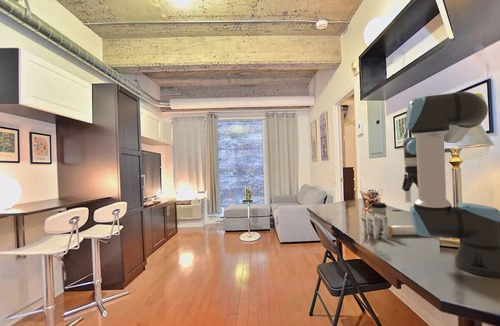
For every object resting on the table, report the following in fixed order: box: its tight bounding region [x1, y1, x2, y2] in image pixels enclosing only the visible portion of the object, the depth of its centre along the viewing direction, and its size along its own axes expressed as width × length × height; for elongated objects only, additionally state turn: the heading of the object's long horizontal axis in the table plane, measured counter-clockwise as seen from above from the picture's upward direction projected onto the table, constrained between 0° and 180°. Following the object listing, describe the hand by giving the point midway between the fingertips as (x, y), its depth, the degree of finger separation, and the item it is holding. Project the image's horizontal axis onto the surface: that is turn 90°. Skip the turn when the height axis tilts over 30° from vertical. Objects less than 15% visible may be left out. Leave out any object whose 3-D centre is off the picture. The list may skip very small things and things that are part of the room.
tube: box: [388, 224, 419, 238], centre depth 131 cm, size 20×5×5 cm, turn 84°
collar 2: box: [375, 213, 390, 240], centre depth 132 cm, size 12×2×12 cm, turn 174°
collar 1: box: [365, 212, 379, 240], centre depth 133 cm, size 12×2×12 cm, turn 174°
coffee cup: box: [369, 202, 388, 230], centre depth 148 cm, size 9×9×15 cm
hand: (415, 204), depth 131 cm, fingers open, 13 cm apart
